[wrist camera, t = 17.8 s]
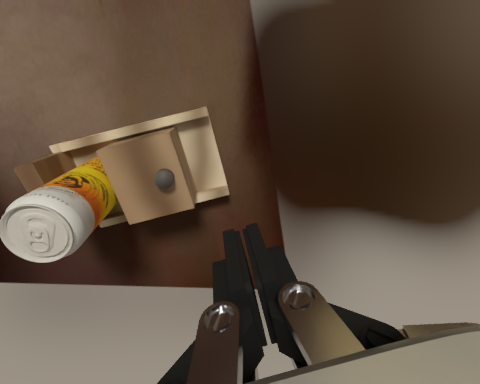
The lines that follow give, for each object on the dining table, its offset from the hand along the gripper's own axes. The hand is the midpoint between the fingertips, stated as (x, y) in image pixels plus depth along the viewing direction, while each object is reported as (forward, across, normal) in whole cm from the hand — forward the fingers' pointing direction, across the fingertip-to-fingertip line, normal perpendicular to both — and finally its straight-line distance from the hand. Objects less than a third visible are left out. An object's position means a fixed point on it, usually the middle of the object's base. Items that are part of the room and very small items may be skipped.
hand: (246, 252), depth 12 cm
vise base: (+25, +11, 0) cm, 27 cm away
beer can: (+24, +16, 0) cm, 29 cm away
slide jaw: (+24, +9, 0) cm, 25 cm away
